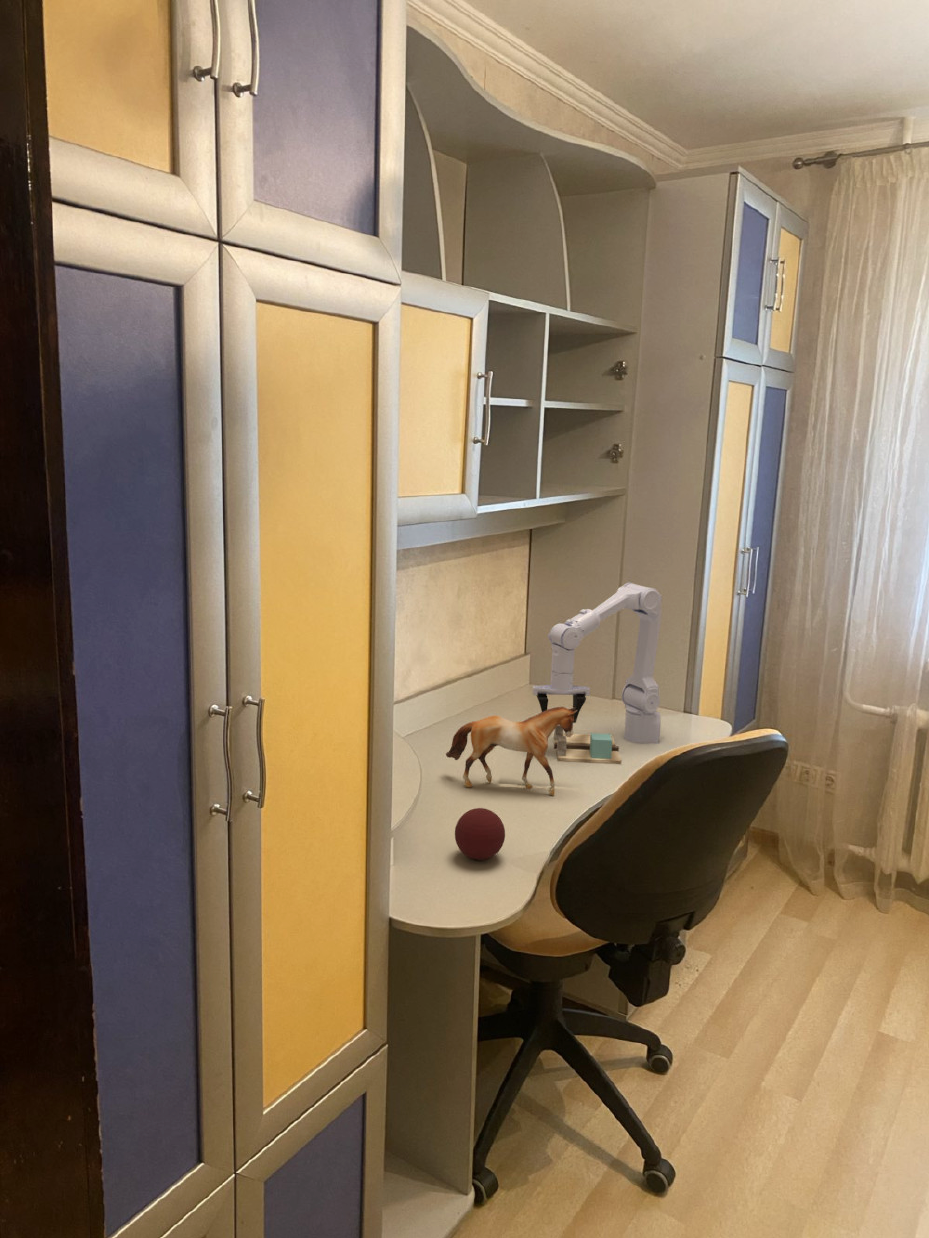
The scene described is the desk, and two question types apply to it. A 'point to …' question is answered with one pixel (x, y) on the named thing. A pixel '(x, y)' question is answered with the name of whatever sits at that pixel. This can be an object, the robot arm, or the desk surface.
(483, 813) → the decorative ball
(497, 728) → the horse figurine
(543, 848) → the desk surface
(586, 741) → the empty strip
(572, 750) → the strip
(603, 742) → the teal cube
